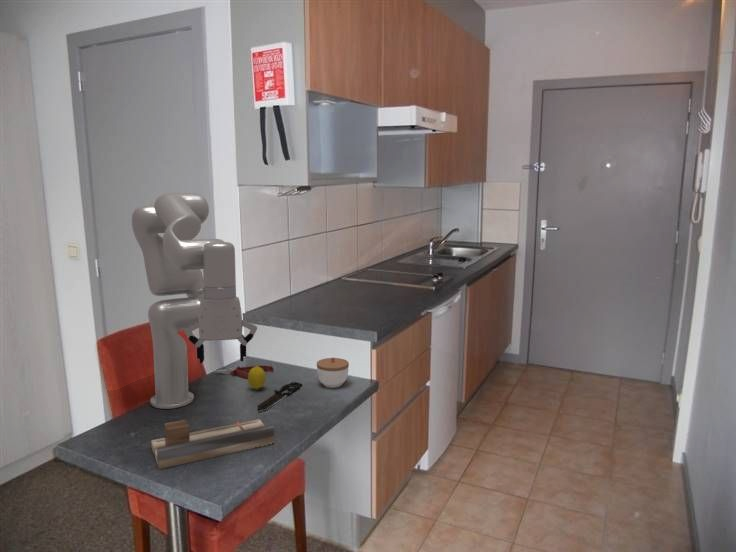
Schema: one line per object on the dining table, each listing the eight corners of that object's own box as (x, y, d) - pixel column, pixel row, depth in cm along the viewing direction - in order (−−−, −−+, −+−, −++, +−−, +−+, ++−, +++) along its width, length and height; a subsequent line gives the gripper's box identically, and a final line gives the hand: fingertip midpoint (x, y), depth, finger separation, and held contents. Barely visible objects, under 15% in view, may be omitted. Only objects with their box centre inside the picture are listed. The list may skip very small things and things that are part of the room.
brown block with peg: (162, 438, 137) (161, 416, 136) (182, 434, 139) (181, 412, 139) (168, 453, 129) (167, 429, 129) (189, 449, 132) (189, 425, 131)
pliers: (221, 368, 199) (221, 361, 199) (274, 372, 196) (274, 365, 196) (208, 379, 188) (207, 372, 188) (264, 383, 185) (264, 375, 185)
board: (150, 446, 138) (150, 429, 137) (258, 424, 151) (258, 409, 151) (159, 469, 127) (158, 451, 126) (274, 443, 140) (273, 427, 140)
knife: (261, 415, 159) (261, 411, 158) (243, 411, 161) (243, 406, 161) (307, 387, 181) (307, 383, 181) (291, 384, 184) (291, 380, 184)
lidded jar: (353, 382, 186) (354, 355, 185) (339, 392, 176) (339, 364, 175) (326, 377, 190) (326, 351, 189) (310, 387, 181) (310, 360, 179)
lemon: (265, 392, 175) (264, 368, 174) (247, 393, 174) (247, 369, 173) (265, 386, 181) (265, 363, 179) (248, 386, 180) (248, 363, 179)
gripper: (180, 296, 127) (183, 367, 130) (256, 294, 131) (257, 363, 133) (185, 290, 135) (188, 357, 137) (256, 289, 138) (257, 354, 140)
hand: (222, 360), depth 135 cm, fingers open, 9 cm apart
